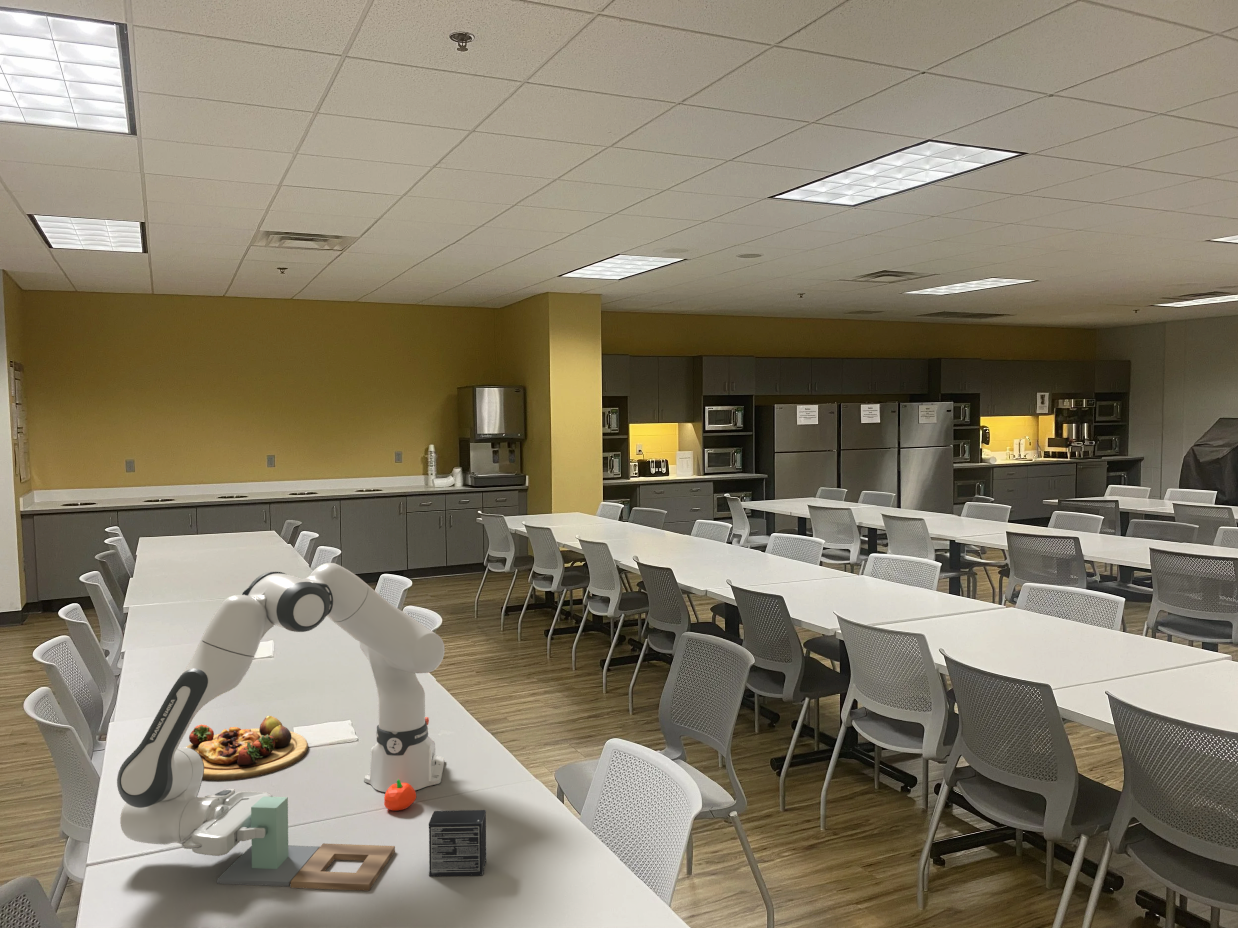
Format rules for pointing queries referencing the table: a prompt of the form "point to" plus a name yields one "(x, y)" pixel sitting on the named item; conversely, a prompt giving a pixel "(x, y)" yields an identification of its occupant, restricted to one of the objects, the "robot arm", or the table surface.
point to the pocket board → (361, 880)
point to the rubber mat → (276, 877)
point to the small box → (457, 843)
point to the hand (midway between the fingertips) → (274, 823)
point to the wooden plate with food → (247, 750)
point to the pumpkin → (399, 796)
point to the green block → (270, 832)
